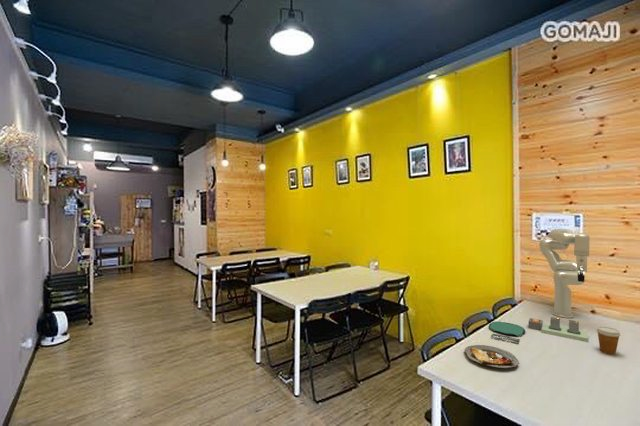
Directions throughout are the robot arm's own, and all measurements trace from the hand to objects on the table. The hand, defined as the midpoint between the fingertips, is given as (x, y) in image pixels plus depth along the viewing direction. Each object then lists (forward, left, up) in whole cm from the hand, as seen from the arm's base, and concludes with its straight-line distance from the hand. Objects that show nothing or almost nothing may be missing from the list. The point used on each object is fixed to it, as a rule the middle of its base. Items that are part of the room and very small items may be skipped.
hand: (580, 280), depth 205 cm
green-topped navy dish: (+16, -51, -31) cm, 62 cm away
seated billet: (+12, -21, -30) cm, 38 cm away
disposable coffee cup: (+36, -8, -31) cm, 48 cm away
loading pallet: (+12, -20, -30) cm, 38 cm away
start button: (+7, -30, -28) cm, 41 cm away
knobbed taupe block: (+16, -13, -30) cm, 36 cm away
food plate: (+53, -73, -31) cm, 95 cm away
